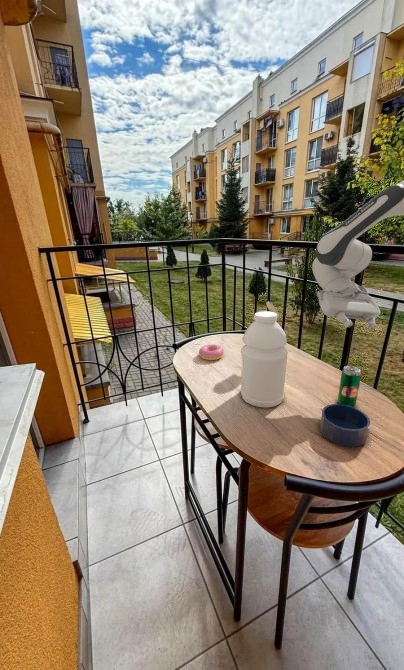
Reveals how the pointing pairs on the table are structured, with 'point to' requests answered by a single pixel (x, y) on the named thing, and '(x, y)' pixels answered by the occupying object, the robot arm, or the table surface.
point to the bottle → (263, 361)
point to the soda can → (349, 385)
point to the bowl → (344, 425)
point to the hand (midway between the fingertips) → (361, 327)
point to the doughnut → (211, 352)
